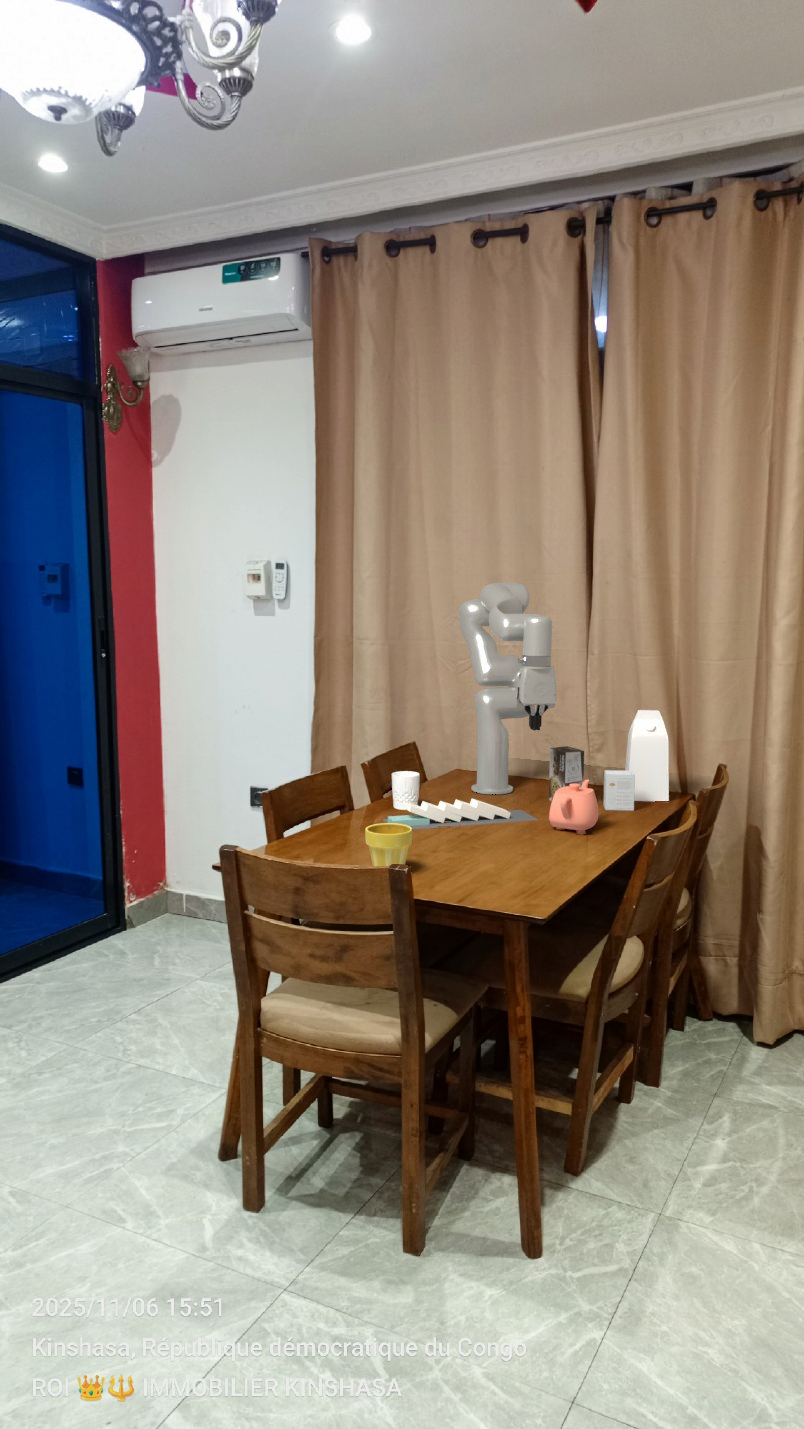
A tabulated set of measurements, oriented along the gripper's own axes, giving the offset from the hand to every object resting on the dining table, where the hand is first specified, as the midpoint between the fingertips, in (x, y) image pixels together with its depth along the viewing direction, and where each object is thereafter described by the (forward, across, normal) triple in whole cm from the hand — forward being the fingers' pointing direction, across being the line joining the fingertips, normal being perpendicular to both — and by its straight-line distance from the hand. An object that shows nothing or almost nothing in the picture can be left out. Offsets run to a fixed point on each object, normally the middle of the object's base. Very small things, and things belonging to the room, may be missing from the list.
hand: (535, 729), depth 260 cm
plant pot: (+23, -50, -41) cm, 69 cm away
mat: (+24, -22, -3) cm, 32 cm away
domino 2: (+22, -27, -3) cm, 35 cm away
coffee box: (+24, +14, +10) cm, 30 cm away
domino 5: (+22, -13, -2) cm, 26 cm away
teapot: (+24, +5, -17) cm, 30 cm away
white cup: (+24, -32, +15) cm, 43 cm away
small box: (+24, +26, +1) cm, 36 cm away
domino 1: (+22, -31, -3) cm, 38 cm away
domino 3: (+22, -22, -3) cm, 32 cm away
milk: (+24, +41, +13) cm, 49 cm away
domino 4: (+22, -17, -2) cm, 29 cm away
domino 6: (+22, -8, -2) cm, 24 cm away
